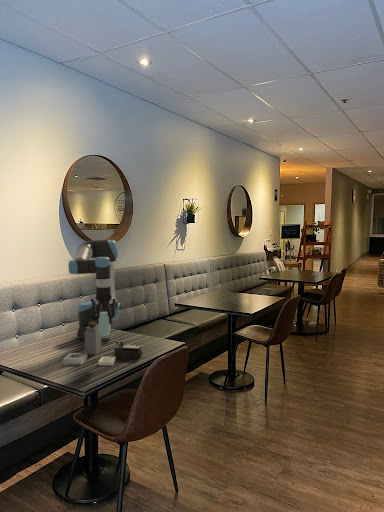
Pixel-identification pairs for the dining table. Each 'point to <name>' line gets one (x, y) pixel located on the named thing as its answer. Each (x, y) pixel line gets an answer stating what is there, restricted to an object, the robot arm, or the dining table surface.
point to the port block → (74, 359)
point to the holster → (107, 361)
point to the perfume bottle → (92, 339)
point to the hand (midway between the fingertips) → (104, 329)
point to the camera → (127, 351)
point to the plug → (104, 324)
